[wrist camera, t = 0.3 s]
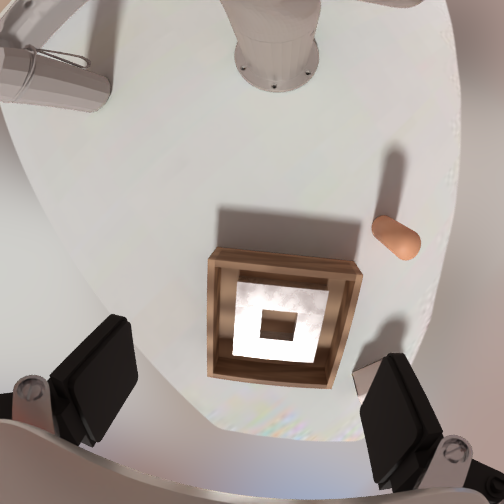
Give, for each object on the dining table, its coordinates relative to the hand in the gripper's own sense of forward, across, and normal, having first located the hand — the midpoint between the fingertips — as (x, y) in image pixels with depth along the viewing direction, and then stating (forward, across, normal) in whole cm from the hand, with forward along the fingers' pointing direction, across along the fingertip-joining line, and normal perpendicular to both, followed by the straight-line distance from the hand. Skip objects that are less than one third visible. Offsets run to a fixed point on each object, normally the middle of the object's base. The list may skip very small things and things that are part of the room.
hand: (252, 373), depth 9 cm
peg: (+35, -17, 0) cm, 39 cm away
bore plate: (+34, -3, +17) cm, 39 cm away
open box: (+36, -3, +17) cm, 40 cm away
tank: (+35, +56, -43) cm, 79 cm away
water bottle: (+35, +33, -20) cm, 52 cm away
